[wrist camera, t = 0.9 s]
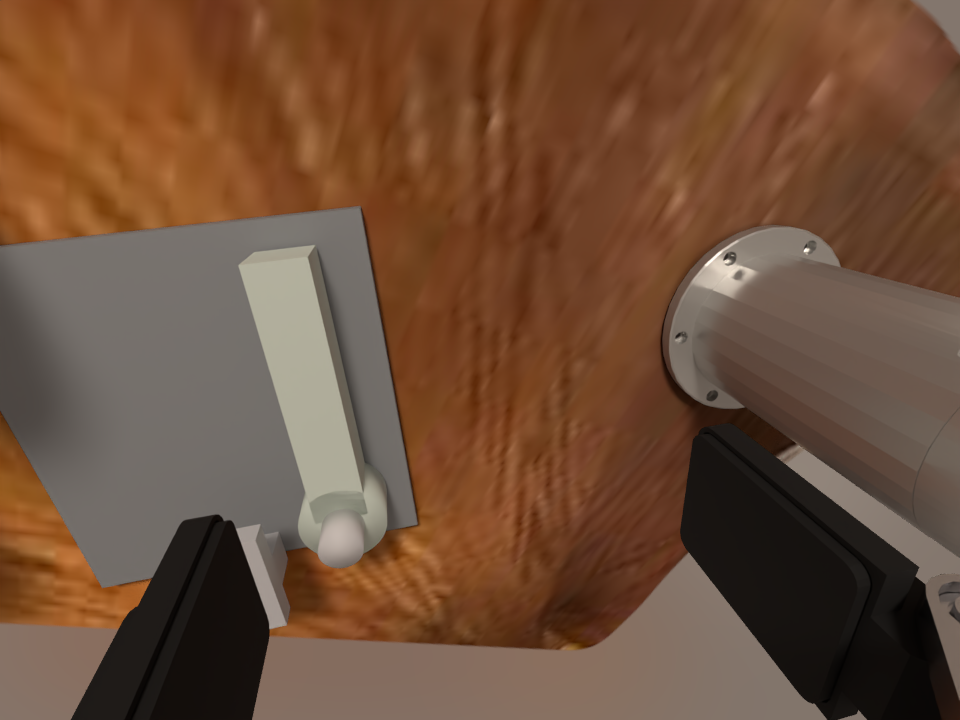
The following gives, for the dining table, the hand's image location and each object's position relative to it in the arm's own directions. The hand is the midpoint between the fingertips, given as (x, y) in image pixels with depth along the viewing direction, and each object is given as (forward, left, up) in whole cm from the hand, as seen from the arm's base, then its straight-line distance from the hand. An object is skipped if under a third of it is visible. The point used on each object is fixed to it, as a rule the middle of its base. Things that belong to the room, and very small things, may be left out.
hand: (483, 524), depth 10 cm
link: (+6, +6, -18) cm, 20 cm away
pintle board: (+12, +6, -20) cm, 24 cm away
